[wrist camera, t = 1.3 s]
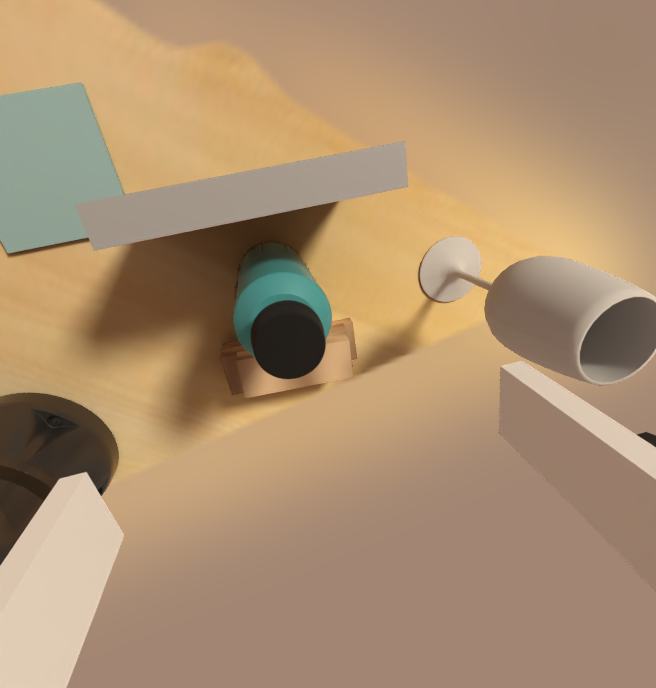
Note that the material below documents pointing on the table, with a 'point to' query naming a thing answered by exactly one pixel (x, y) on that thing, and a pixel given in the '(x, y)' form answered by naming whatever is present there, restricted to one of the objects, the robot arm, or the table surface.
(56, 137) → the mat
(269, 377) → the offcut top
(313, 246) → the table surface
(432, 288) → the wineglass
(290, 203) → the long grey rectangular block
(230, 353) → the offcut middle
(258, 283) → the beverage bottle
